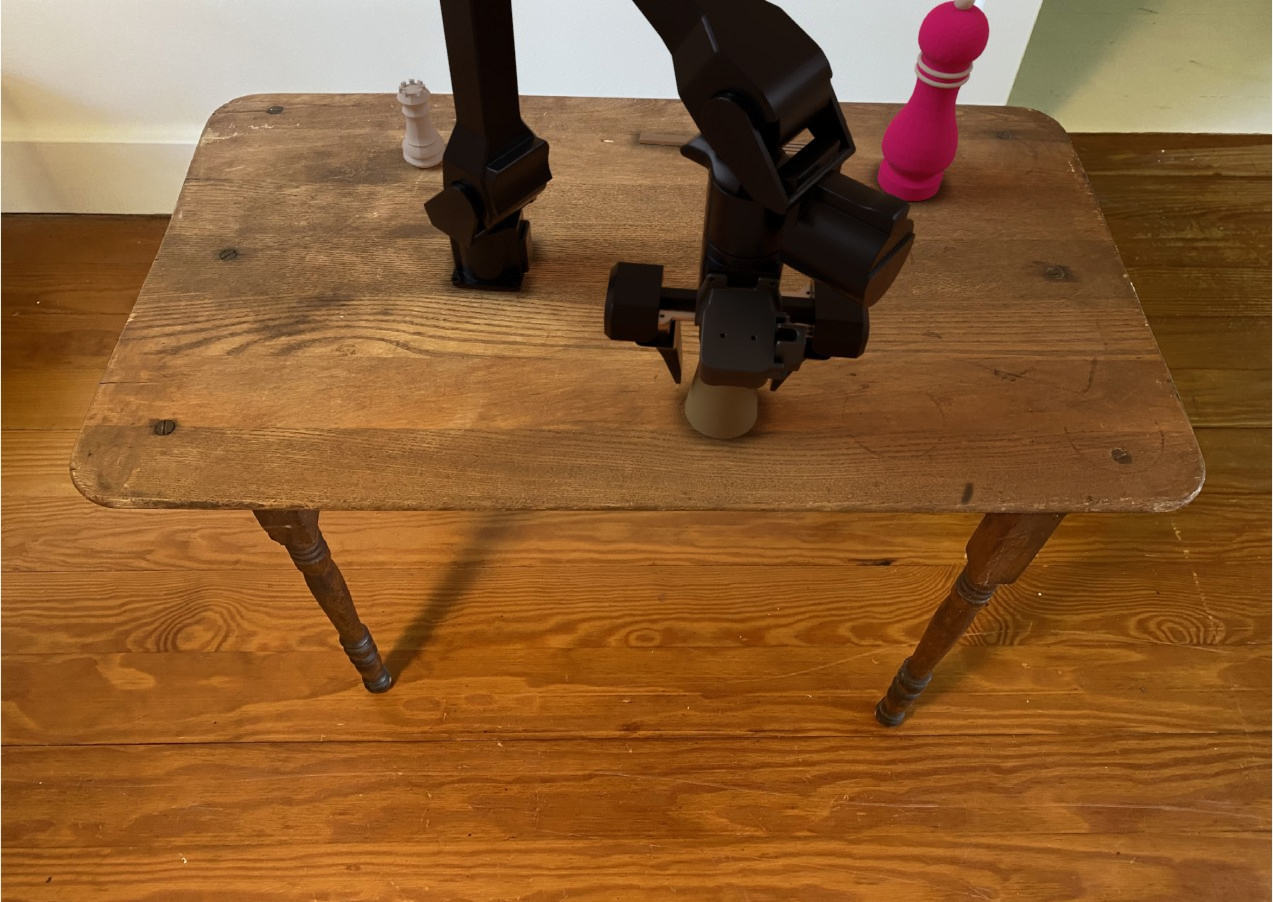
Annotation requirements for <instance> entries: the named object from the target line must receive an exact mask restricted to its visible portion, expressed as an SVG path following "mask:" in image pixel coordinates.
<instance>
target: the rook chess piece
mask: <svg viewBox="0 0 1273 902" xmlns="http://www.w3.org/2000/svg"><path fill="white" fill-rule="evenodd" d="M408 82H409V83H407V82H406V81H405V80H403V81H401V82H400V85H398V92H397V94H396V99H397V101H398V102H399V103H400V104H402V108H401V112H402V114H403V115H404V117H405V124H406V129H405V130H406V131H405V134H404V139H403V140H402V144H401V145H402V151H403V152H402V153H403V158H404V160H405V161H406V162H407V163H408V164H410V165H411V166H413V167H416V168H421V169H426V168H427V169H428V168H432V167H435V166H438V165H439V164H440V163H442V162H443V153H444V150H445V148H446V145H445V139H444V137H443V136H442V135H441V134H440V133H439V131H438V130H437V129H436V128H435V126H434V123H433V120H432V117H431V114H430V111H431V110H432V109H431V108H432V107H431V105H430V103H428V101H429V99H430V97H431V91H430V90H429V88H427V87H426V84H425V83H424V82H423V80H421V79H417V81H416V82H415V79H414V78H409V79H408Z"/></svg>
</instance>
